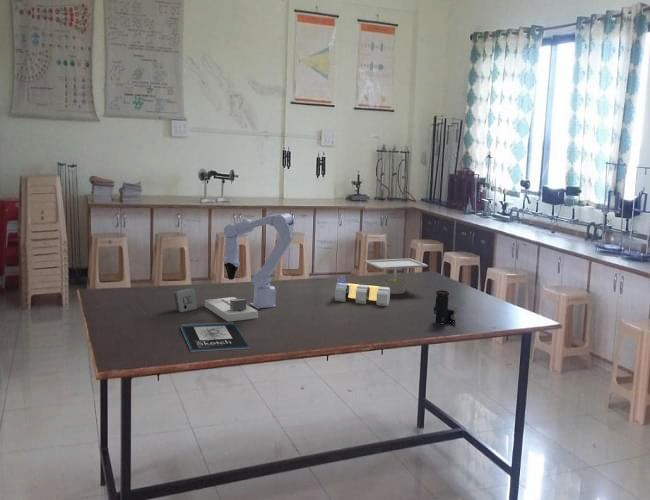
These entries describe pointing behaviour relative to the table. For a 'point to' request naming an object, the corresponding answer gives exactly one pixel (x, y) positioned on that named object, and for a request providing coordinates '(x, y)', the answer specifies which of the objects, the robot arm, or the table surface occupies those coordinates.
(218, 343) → the sketchbook
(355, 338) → the table surface
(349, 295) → the gray yellow segmented block
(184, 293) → the electrical switch
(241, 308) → the fader tab
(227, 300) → the white flat rectangular block
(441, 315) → the scope
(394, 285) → the solar panel model
